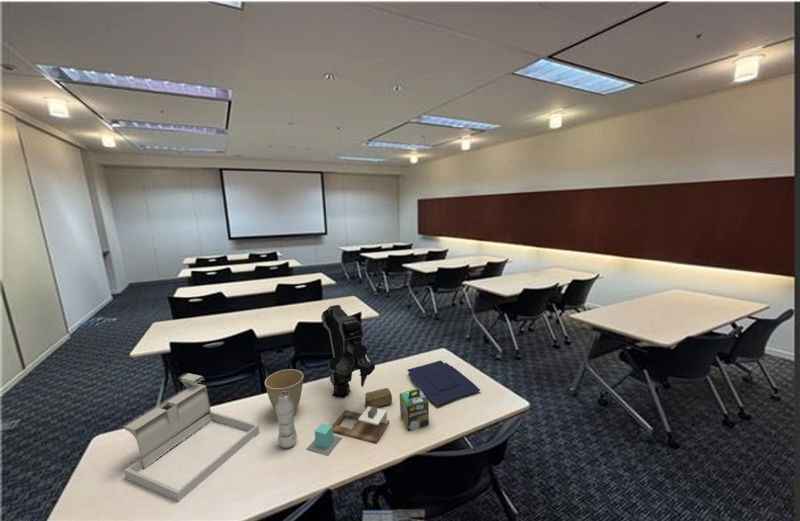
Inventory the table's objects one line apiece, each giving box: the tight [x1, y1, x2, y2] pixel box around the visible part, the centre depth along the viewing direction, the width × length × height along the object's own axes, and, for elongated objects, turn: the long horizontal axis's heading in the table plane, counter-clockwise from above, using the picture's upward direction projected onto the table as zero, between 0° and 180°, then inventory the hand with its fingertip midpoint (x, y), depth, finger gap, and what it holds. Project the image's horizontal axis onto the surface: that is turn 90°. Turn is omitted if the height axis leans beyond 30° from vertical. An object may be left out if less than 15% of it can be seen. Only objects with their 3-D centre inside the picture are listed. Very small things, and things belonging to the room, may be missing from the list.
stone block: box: [364, 387, 393, 408], centre depth 136 cm, size 6×12×5 cm, turn 107°
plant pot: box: [264, 368, 304, 416], centre depth 131 cm, size 15×15×16 cm
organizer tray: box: [124, 410, 260, 502], centre depth 110 cm, size 25×31×4 cm
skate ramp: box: [121, 372, 212, 469], centre depth 115 cm, size 25×19×10 cm
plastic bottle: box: [275, 391, 298, 449], centre depth 113 cm, size 6×7×20 cm
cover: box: [358, 406, 388, 425], centre depth 119 cm, size 8×8×7 cm
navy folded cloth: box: [406, 359, 481, 406], centre depth 151 cm, size 24×30×4 cm
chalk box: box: [399, 387, 430, 432], centre depth 124 cm, size 9×9×15 cm
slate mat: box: [306, 434, 342, 457], centre depth 114 cm, size 9×9×1 cm
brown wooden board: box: [331, 409, 390, 445], centre depth 122 cm, size 20×12×2 cm, turn 69°
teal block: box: [314, 422, 334, 449], centre depth 114 cm, size 4×4×6 cm
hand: (352, 384), depth 130 cm, fingers open, 9 cm apart
